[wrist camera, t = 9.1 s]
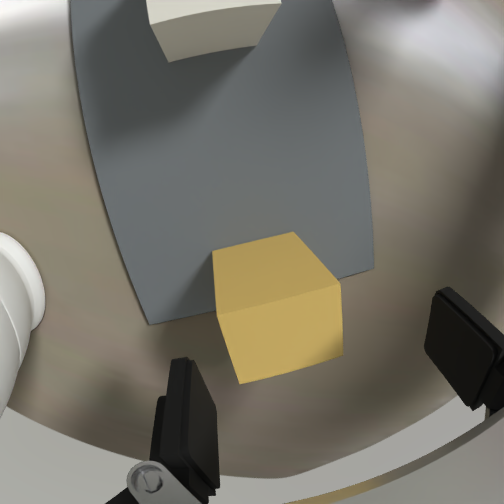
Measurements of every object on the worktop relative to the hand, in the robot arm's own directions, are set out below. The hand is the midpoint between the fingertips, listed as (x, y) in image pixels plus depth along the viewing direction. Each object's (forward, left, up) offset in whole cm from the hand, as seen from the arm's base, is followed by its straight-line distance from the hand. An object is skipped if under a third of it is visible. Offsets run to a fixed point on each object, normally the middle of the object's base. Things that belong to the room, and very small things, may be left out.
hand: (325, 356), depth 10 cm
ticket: (+1, -16, -9) cm, 19 cm away
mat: (+1, -9, -10) cm, 14 cm away
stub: (+1, 0, -9) cm, 9 cm away
